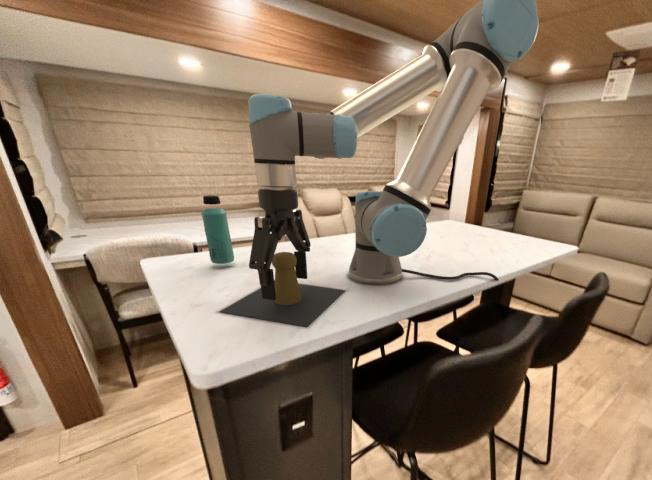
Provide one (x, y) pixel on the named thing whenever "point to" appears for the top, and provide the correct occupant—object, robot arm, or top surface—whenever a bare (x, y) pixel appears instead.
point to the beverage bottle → (217, 232)
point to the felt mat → (286, 306)
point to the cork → (286, 279)
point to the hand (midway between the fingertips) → (286, 287)
